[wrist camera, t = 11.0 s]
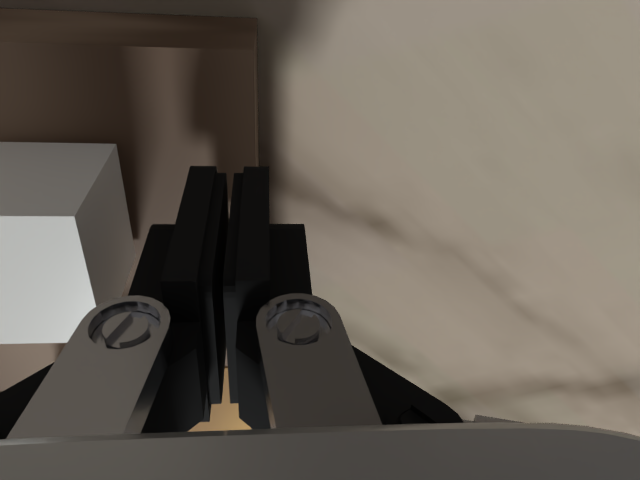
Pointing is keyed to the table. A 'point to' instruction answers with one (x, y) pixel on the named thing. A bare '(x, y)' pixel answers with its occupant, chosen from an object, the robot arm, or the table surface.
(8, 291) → the switch
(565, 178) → the table surface
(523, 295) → the table surface
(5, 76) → the switch board
